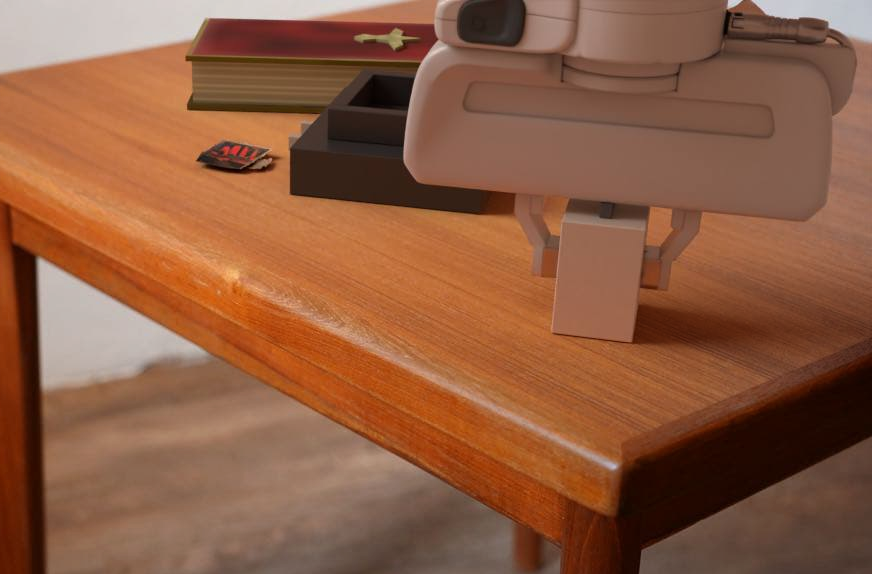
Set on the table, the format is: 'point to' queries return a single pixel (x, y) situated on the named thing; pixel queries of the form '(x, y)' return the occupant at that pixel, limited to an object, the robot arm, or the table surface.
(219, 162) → the matchbox
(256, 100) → the hardcover book
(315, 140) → the stepped square holder
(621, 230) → the block
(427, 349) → the table surface
